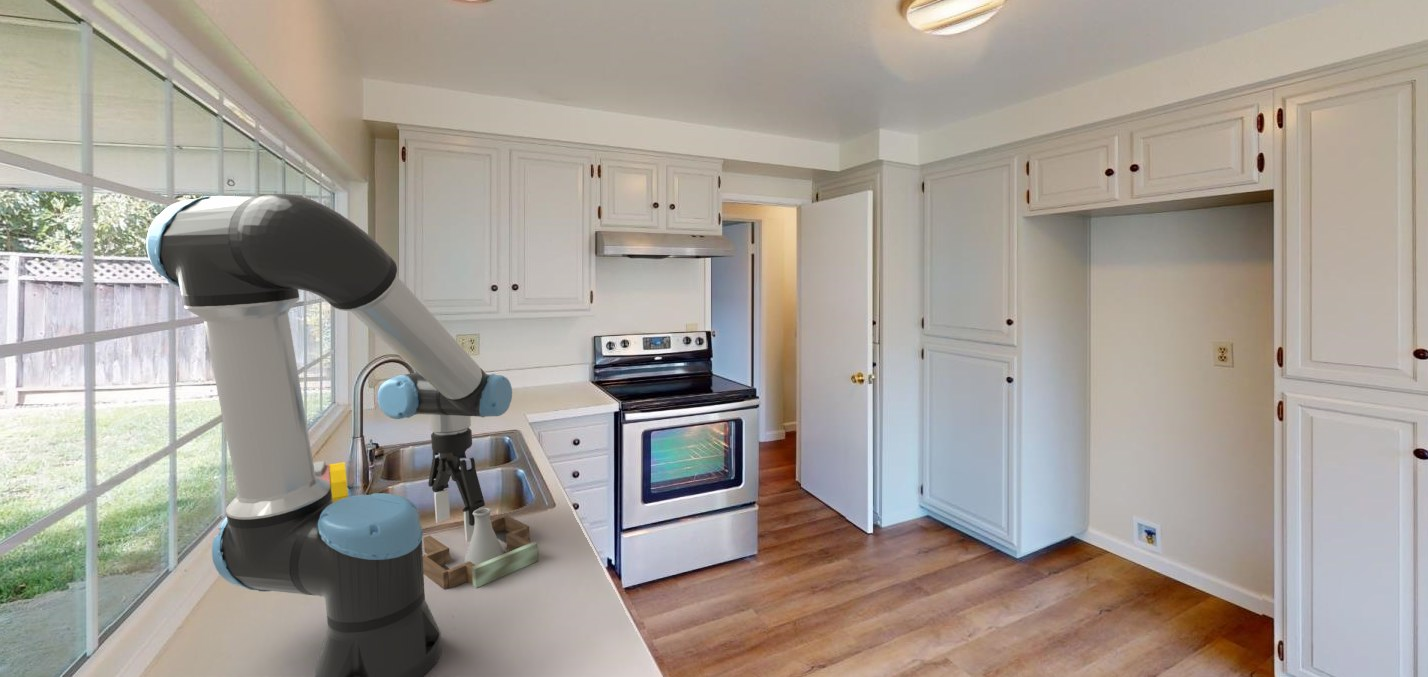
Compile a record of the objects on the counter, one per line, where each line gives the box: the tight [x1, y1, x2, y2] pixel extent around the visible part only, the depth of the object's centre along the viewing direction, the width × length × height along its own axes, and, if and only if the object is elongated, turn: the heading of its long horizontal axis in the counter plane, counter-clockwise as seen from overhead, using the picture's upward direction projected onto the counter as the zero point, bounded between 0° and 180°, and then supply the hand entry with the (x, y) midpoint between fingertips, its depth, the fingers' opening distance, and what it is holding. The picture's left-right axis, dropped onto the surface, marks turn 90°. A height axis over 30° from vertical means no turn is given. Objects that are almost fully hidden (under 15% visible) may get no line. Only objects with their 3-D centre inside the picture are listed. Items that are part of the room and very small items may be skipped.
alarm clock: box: [313, 460, 349, 503], centre depth 111 cm, size 15×8×18 cm, turn 36°
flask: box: [462, 507, 506, 565], centre depth 107 cm, size 7×7×10 cm
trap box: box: [423, 514, 539, 590], centre depth 109 cm, size 20×21×4 cm
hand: (457, 529), depth 116 cm, fingers open, 13 cm apart
